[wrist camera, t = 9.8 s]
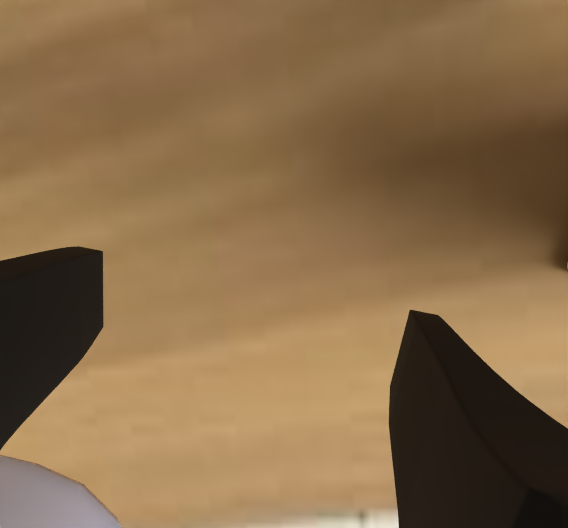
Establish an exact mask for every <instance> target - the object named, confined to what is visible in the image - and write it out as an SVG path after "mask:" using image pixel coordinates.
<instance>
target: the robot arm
mask: <svg viewBox="0 0 568 528" xmlns="http://www.w3.org/2000/svg"><path fill="white" fill-rule="evenodd" d="M567 269H568V263H567ZM102 328H103V251H100V250H94V249H89V248H84V247H79V246H78V247H66V248H59V249H54V250H48V251H44V252H39V253H34V254H30V255H25V256H21V257H16V258H12V259H7V260H3V261H0V450H1V448H2V447H3V446H4V444H5V443H6V442H7V441H8V440H9V438H10V437H11V436H12V435H13V434H14V432H15V431H16V430H17V429H18V428H19V427H20V425H21V424H22V423H23V422H24V421H25V420H26V419H27V418H28V417H29V416H30V415H31V414H32V413H33V411H34V410H35V409H36V408H37V407H38V406H39V405H40V404H41V403H42V402H43V401H44V400H45V399H46V398H47V396H48V395H49V394H50V393H51V392H52V391H53V390H54V389H55V388H56V387H57V386H58V385H59V384H60V382H61V381H62V380H63V379H64V378H65V377H66V376H67V375H68V374H69V373H70V371H71V370H72V369H73V368H74V367H75V366H76V365H77V364H78V363H79V361H80V360H81V359H82V358H83V357H84V355H85V354H86V352H87V351H88V349H89V348H90V347H91V345H92V344H93V342H94V341H95V339H96V337H97V336H98V334H99V333H100V331H101V330H102ZM389 430H390V440H391V450H392V460H393V469H394V478H395V488H396V497H397V506H398V518H399V528H568V428H566V427H565V426H563V425H562V424H560V423H559V422H557V421H556V420H554V419H553V418H551V417H550V416H549V415H547V414H546V413H545V412H543V411H542V410H541V409H539V408H538V407H537V406H535V405H534V404H533V403H531V402H530V401H529V400H527V399H526V398H525V397H524V396H522V395H521V394H520V393H519V392H517V391H516V390H515V389H514V388H513V387H512V386H510V385H509V384H508V383H507V382H506V381H505V380H504V379H502V378H501V377H500V376H499V375H498V374H497V373H496V372H495V371H494V370H492V369H491V368H490V367H489V366H488V365H487V364H486V363H485V362H484V361H483V360H482V359H481V358H480V357H479V356H478V355H477V354H476V353H475V352H474V351H473V350H472V349H471V348H470V347H469V346H468V345H467V344H466V343H465V342H464V341H463V340H462V339H461V338H460V336H459V335H458V334H457V333H456V332H455V331H454V330H453V329H452V328H451V327H450V326H449V325H448V324H447V323H446V322H445V321H444V320H443V319H442V318H441V317H440V316H438V315H435V314H430V313H424V312H419V311H414V310H410V312H409V315H408V319H407V323H406V327H405V331H404V335H403V338H402V342H401V346H400V350H399V354H398V358H397V362H396V365H395V369H394V373H393V377H392V381H391V385H390V403H389ZM0 528H121V525H120V523H119V521H118V519H117V517H116V516H115V515H114V514H113V513H112V512H111V511H110V510H109V509H108V508H107V507H106V506H105V505H104V504H103V503H102V502H101V501H100V500H99V499H98V498H97V497H96V496H95V495H94V494H93V493H92V492H91V491H90V490H89V489H88V488H87V487H86V486H85V485H84V484H82V483H80V482H77V481H75V480H73V479H71V478H68V477H66V476H64V475H62V474H59V473H57V472H55V471H53V470H51V469H48V468H46V467H44V466H42V465H39V464H36V463H32V462H28V461H24V460H19V459H15V458H11V457H7V456H2V455H0Z"/></svg>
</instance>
